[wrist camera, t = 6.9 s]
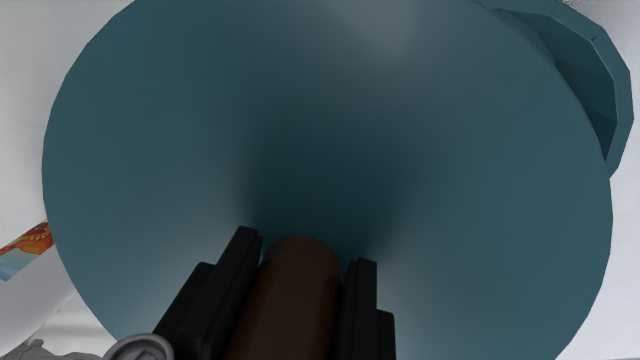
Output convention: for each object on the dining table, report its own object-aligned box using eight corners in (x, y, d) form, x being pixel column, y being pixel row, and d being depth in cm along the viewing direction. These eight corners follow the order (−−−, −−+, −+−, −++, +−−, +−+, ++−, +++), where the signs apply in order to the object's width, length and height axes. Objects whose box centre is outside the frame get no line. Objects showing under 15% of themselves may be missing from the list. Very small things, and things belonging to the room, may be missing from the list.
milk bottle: (119, 224, 41) (-84, 397, 23) (111, 274, 45) (-69, 459, 27) (51, 197, 41) (-205, 351, 23) (49, 250, 44) (-174, 419, 27)
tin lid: (-28, 156, 13) (-317, 272, 8) (435, -239, 7) (597, -908, 2) (258, 442, 19) (207, 632, 13) (660, 341, 13) (876, 607, 7)
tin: (318, 69, 31) (297, 93, 23) (522, -57, 25) (582, -80, 18) (407, 221, 36) (414, 281, 28) (596, 142, 30) (668, 191, 22)
